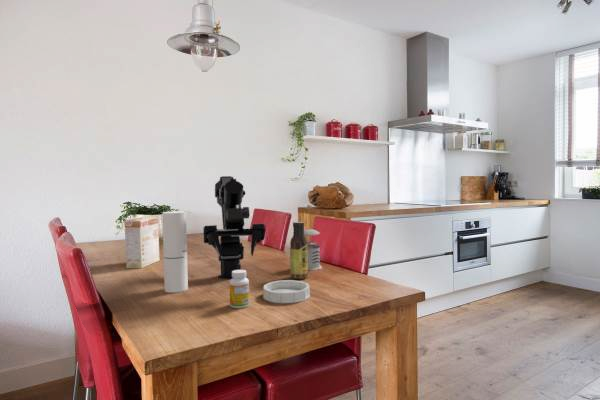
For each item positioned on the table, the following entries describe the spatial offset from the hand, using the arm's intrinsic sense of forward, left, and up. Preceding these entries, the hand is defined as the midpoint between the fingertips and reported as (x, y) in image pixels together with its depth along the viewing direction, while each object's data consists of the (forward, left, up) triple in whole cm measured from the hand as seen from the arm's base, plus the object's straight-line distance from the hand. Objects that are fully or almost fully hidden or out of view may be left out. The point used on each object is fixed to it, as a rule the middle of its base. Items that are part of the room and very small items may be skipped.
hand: (236, 255), depth 114 cm
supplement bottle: (+4, -5, -13) cm, 15 cm away
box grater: (+3, +44, -13) cm, 46 cm away
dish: (+12, +8, -13) cm, 19 cm away
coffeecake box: (-64, +23, -13) cm, 69 cm away
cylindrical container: (-24, 0, -13) cm, 27 cm away
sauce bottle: (+6, +29, -13) cm, 32 cm away
